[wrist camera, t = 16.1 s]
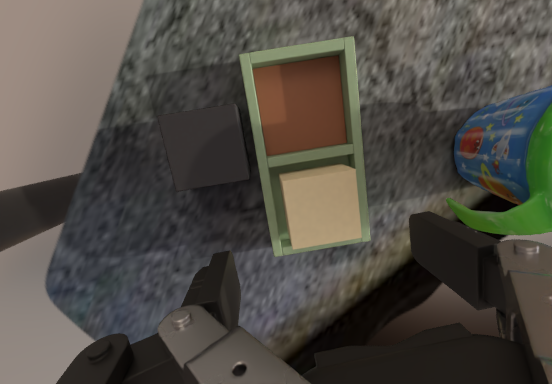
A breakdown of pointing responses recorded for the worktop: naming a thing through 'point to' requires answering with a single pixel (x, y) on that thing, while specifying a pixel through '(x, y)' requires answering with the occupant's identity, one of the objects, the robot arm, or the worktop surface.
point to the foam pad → (321, 205)
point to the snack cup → (509, 163)
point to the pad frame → (304, 122)
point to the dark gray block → (205, 146)
